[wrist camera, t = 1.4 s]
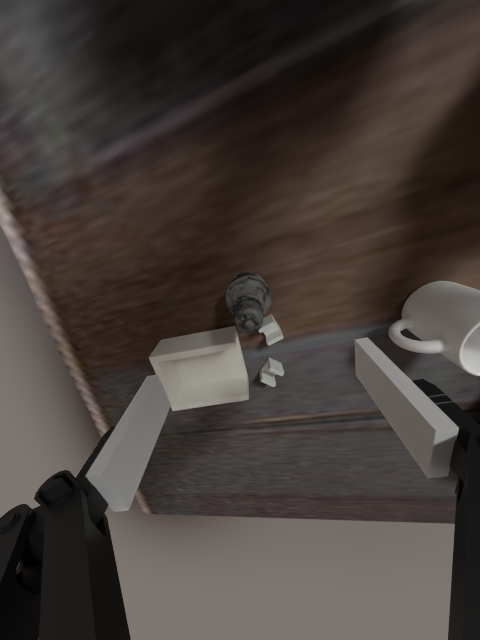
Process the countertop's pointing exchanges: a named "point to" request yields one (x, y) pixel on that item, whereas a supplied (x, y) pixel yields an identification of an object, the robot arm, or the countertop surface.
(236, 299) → the grey tapered rounded piece
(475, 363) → the mug
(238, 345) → the end holder
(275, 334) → the clip
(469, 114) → the countertop surface
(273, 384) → the clip
